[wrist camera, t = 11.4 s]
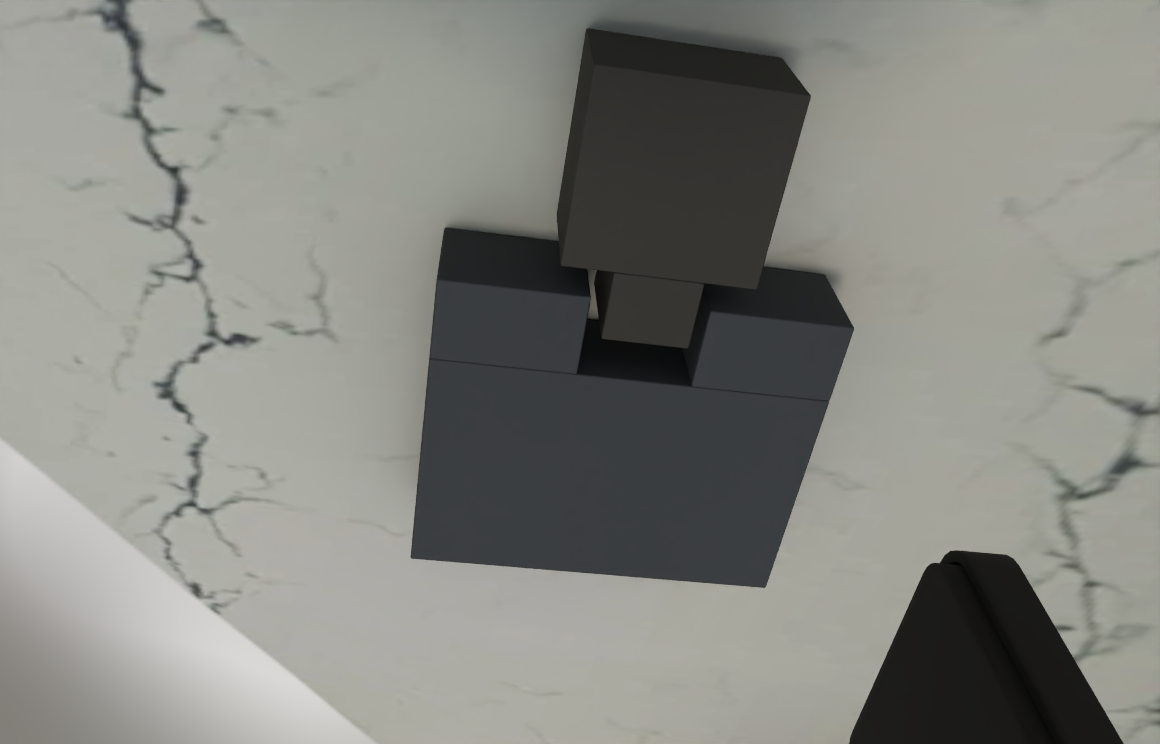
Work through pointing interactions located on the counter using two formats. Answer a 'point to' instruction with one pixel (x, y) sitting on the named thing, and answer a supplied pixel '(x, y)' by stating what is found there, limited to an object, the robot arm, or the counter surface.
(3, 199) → the counter surface
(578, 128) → the dark tabbed block
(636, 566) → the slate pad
